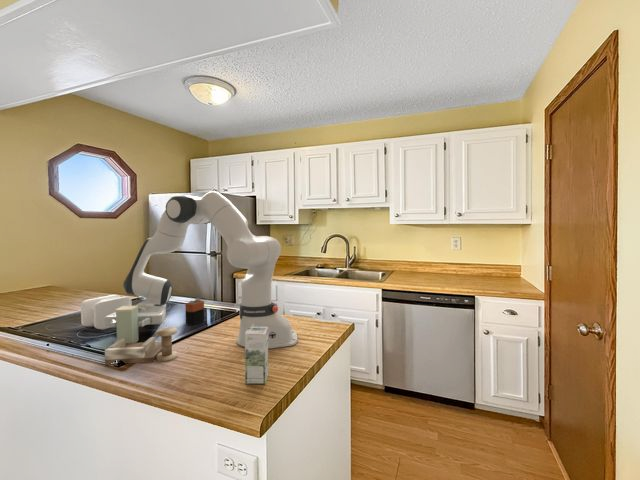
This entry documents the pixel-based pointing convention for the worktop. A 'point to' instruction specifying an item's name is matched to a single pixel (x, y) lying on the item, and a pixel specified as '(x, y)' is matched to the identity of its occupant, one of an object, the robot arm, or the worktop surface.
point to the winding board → (133, 351)
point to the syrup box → (256, 355)
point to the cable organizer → (101, 309)
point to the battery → (194, 312)
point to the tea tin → (127, 323)
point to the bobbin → (166, 344)
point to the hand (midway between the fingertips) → (126, 324)
